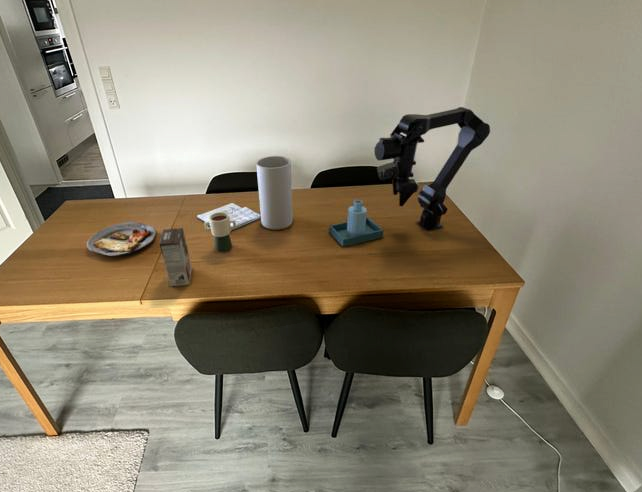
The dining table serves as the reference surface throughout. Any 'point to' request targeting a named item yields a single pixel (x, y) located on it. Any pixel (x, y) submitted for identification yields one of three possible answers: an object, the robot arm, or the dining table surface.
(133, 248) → the food plate
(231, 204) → the white printed square slab
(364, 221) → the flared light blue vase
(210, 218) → the character mug
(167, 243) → the coffee box
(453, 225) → the dining table surface
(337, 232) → the teal open tray
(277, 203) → the cylinder vase
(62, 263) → the dining table surface
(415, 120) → the robot arm
